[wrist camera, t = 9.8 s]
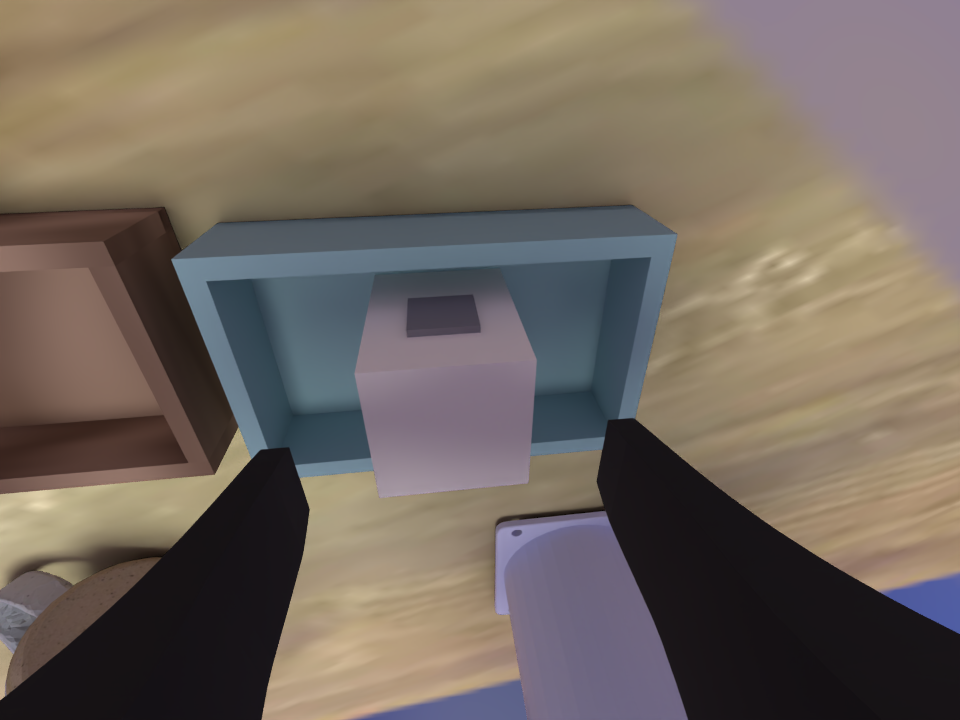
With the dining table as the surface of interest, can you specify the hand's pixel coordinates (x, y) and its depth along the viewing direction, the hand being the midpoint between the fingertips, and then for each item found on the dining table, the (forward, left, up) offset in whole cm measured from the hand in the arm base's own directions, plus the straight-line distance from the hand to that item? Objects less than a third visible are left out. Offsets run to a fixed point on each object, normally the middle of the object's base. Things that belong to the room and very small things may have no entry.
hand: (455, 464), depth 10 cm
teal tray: (0, 0, -7) cm, 7 cm away
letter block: (0, 0, -6) cm, 6 cm away
